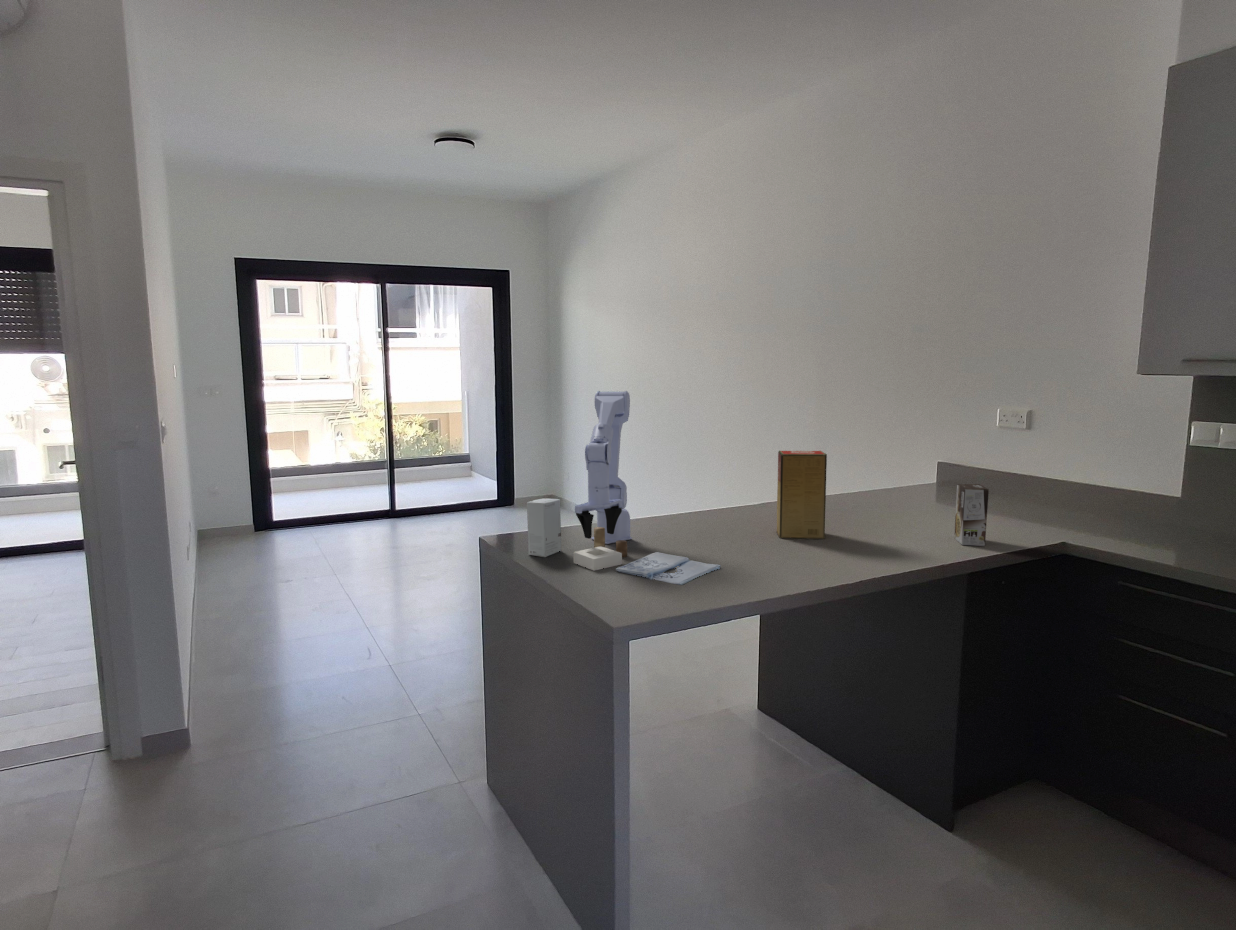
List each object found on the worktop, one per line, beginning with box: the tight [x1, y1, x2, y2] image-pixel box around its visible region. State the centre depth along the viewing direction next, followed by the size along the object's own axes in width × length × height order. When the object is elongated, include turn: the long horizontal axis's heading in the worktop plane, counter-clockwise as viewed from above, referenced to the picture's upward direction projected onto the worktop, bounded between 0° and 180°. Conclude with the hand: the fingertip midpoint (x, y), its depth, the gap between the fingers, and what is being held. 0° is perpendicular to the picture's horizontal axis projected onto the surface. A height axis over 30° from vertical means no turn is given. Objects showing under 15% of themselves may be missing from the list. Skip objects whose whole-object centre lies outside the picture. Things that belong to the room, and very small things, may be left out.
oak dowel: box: [593, 526, 606, 548], centre depth 202 cm, size 3×3×7 cm
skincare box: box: [526, 497, 562, 558], centre depth 203 cm, size 8×6×15 cm
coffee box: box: [953, 483, 990, 547], centre depth 209 cm, size 9×6×16 cm
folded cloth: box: [615, 551, 721, 586], centre depth 186 cm, size 19×20×2 cm
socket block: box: [573, 546, 623, 572], centre depth 192 cm, size 9×9×3 cm
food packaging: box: [775, 450, 828, 540], centre depth 219 cm, size 13×9×25 cm
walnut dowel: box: [615, 540, 628, 558], centre depth 200 cm, size 3×3×4 cm
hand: (599, 535), depth 202 cm, fingers open, 7 cm apart
